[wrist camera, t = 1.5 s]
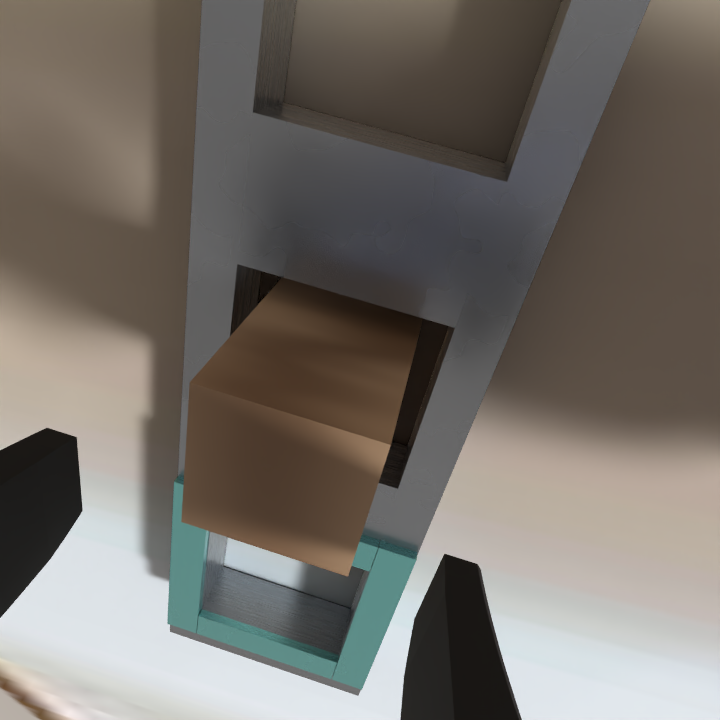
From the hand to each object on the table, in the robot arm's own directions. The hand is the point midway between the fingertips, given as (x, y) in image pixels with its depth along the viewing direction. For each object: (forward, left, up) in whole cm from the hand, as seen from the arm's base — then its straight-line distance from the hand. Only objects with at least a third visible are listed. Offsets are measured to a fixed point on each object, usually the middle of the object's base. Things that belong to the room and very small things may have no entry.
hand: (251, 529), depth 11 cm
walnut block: (0, 0, -7) cm, 7 cm away
